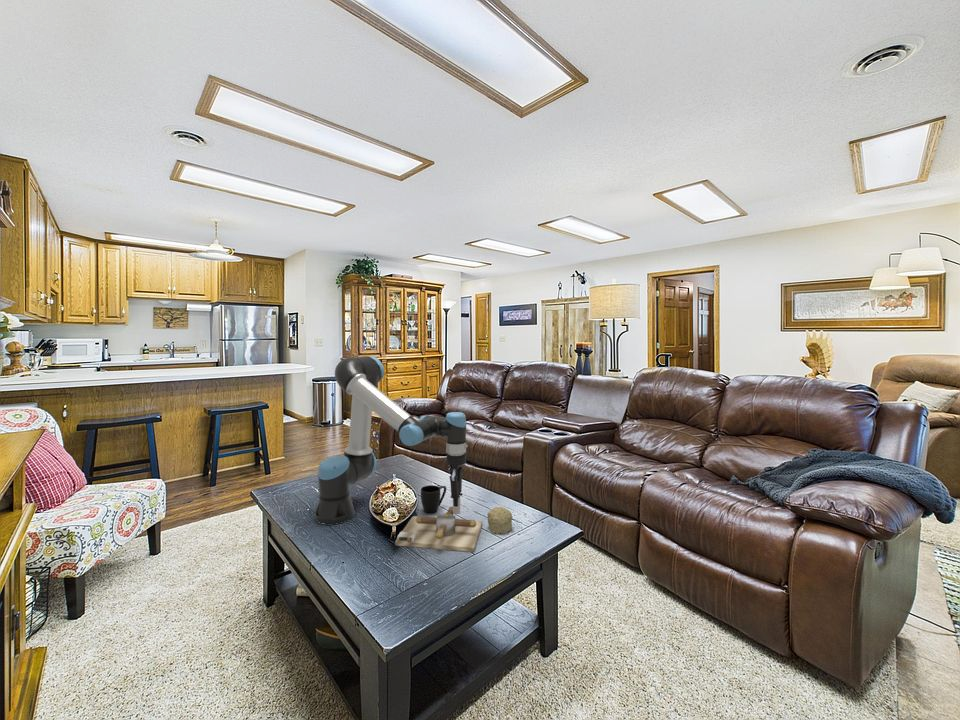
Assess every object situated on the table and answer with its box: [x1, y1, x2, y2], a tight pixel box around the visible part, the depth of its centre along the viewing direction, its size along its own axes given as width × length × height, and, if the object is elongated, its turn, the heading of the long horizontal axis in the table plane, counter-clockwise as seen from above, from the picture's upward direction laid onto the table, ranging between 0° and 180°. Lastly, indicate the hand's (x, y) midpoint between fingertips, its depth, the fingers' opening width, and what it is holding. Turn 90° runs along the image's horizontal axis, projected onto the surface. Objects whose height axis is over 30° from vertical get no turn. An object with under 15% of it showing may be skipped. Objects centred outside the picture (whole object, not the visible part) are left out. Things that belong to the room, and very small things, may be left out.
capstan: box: [416, 506, 477, 539], centre depth 151 cm, size 23×23×6 cm
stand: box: [394, 515, 483, 553], centre depth 152 cm, size 28×20×3 cm
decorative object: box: [487, 506, 513, 535], centre depth 157 cm, size 9×10×10 cm
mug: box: [420, 484, 447, 515], centre depth 173 cm, size 8×12×10 cm
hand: (456, 513), depth 159 cm, fingers closed
